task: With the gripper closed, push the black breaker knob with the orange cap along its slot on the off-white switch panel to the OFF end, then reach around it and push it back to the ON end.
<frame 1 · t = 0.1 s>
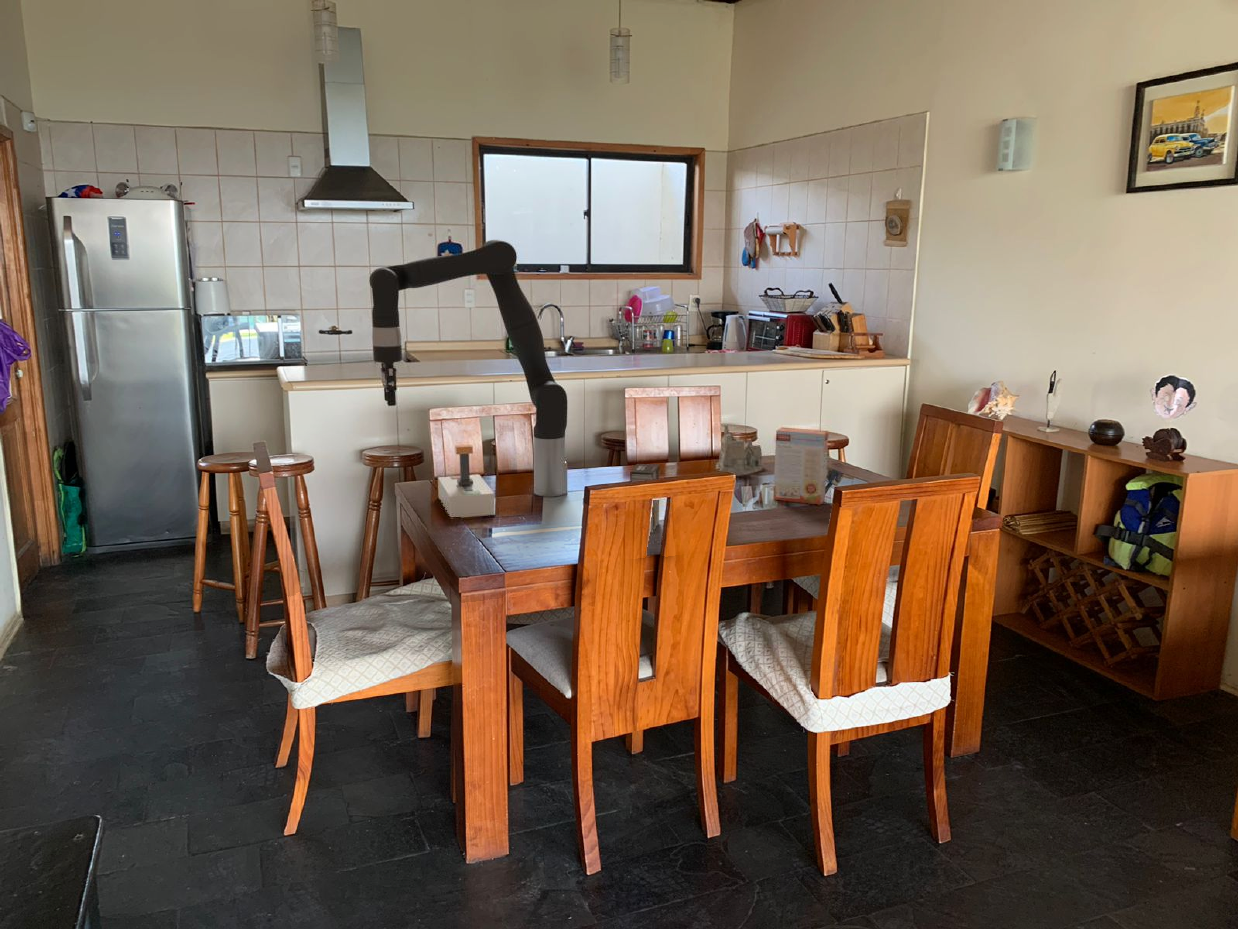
hand: (390, 403, 253), 29 cm above the table, tool pointing down, fingers open, 8 cm apart
cracker box: (798, 501, 269), on the table
ceramic cottage: (739, 470, 305), on the table
coffee box: (644, 528, 243), on the table
breaker knob: (464, 464, 258), point 12 cm above the table, slide at 5.0 cm
switch panel: (465, 505, 261), on the table
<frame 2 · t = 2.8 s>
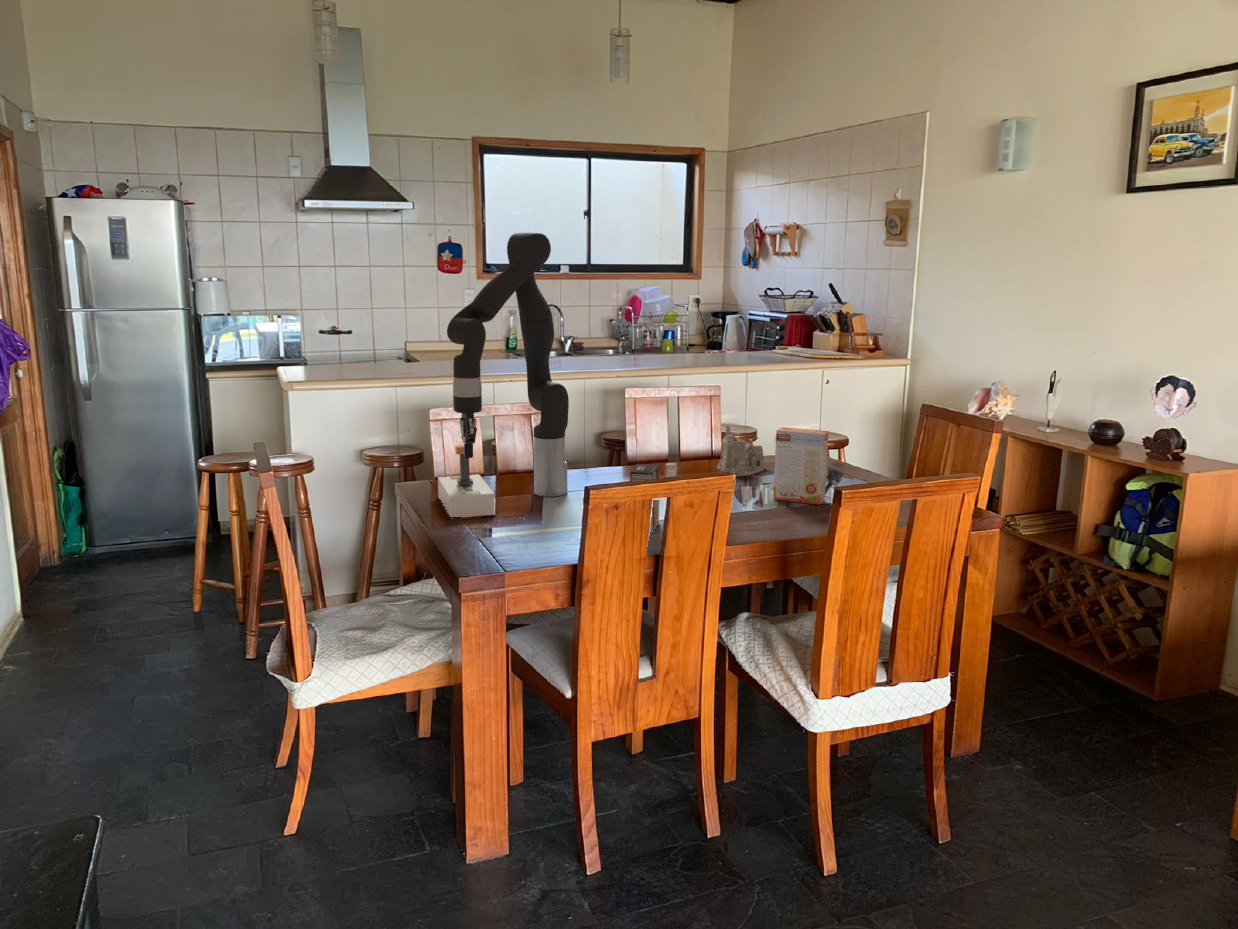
hand: (468, 457, 250), 16 cm above the table, tool pointing down, fingers closed
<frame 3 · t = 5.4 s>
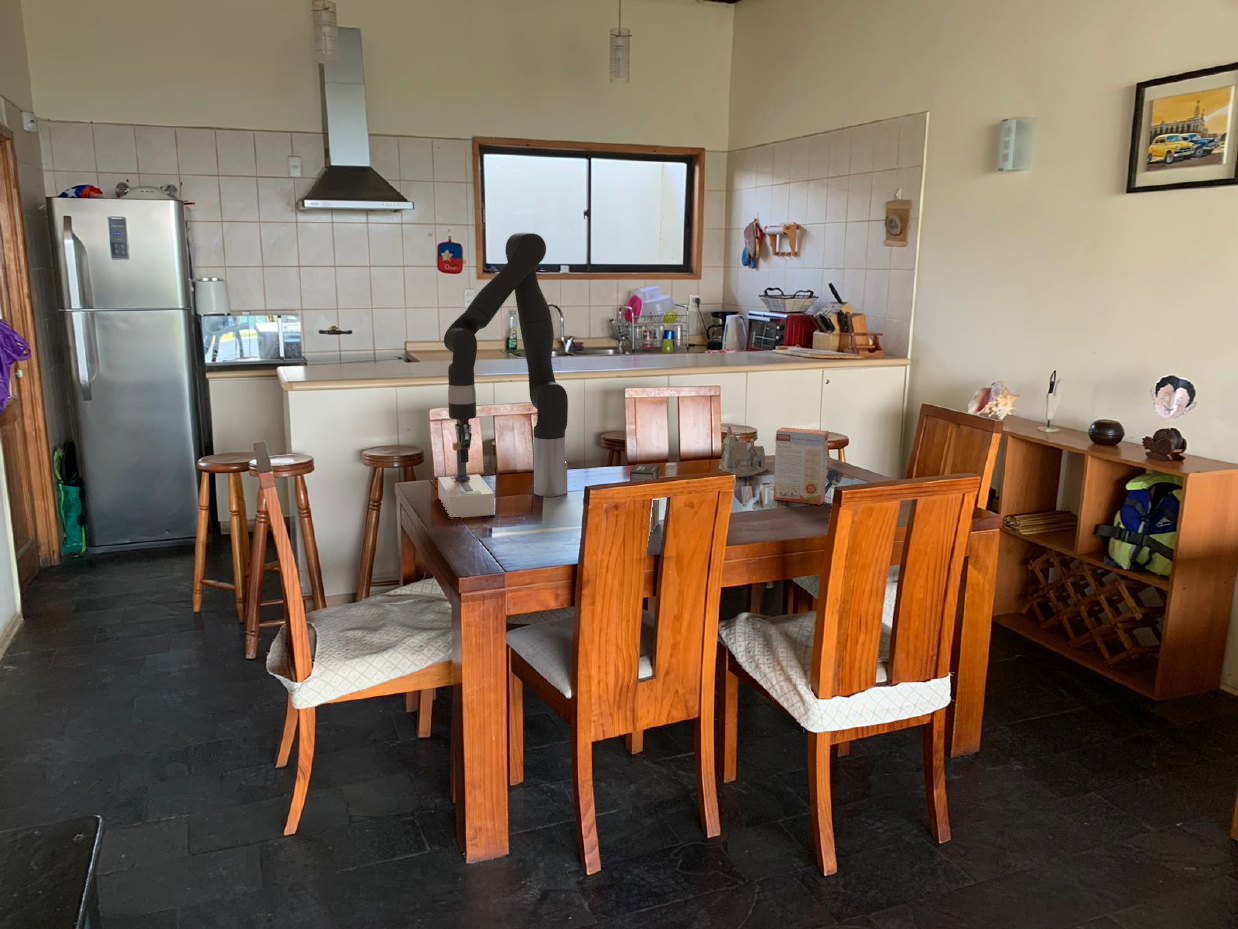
hand: (464, 461, 259), 12 cm above the table, tool pointing down, fingers closed
breaker knob: (461, 460, 263), point 12 cm above the table, slide at -0.1 cm, touching hand
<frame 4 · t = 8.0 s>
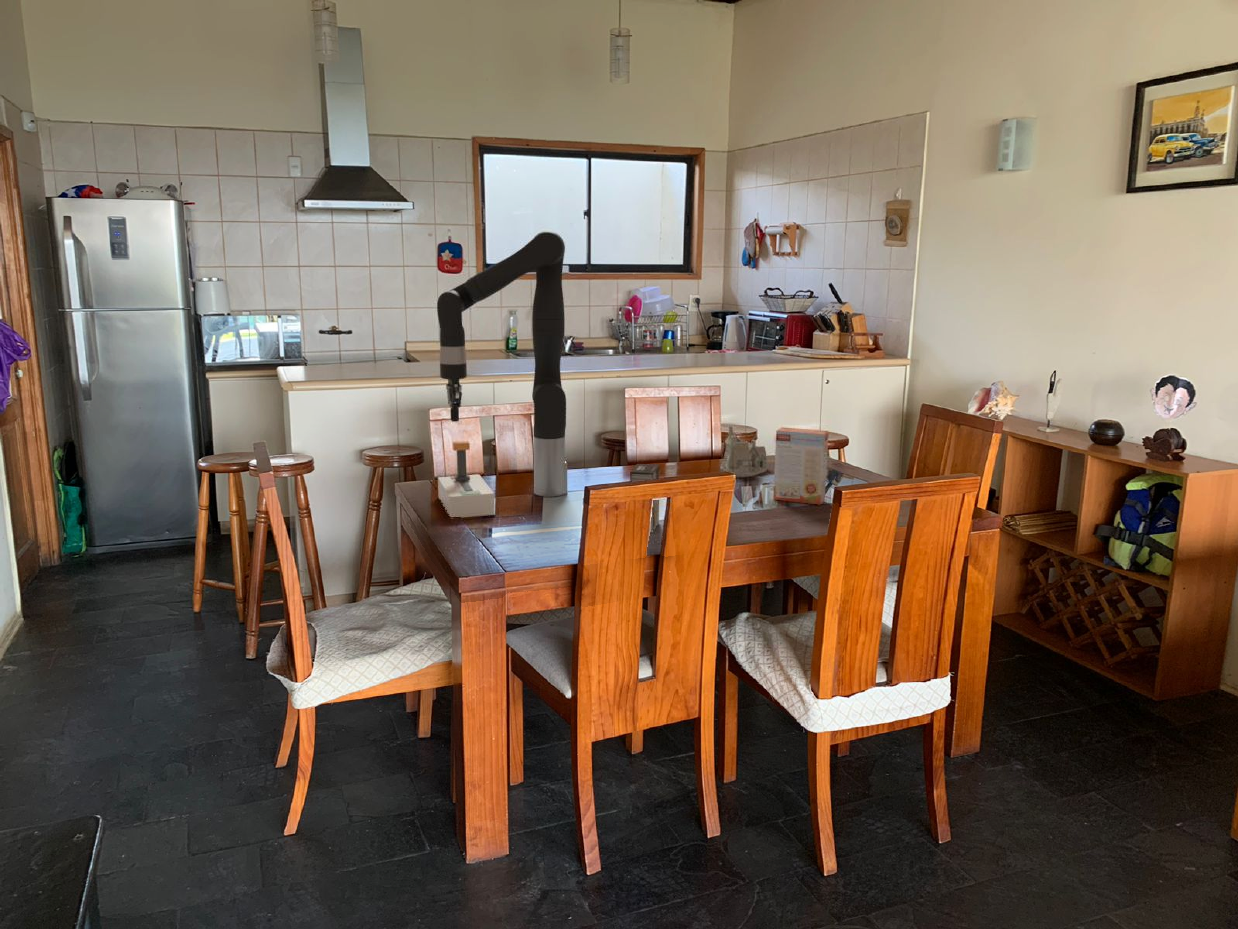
hand: (454, 420, 270), 22 cm above the table, tool pointing down, fingers closed
breaker knob: (461, 460, 263), point 12 cm above the table, slide at 0.0 cm
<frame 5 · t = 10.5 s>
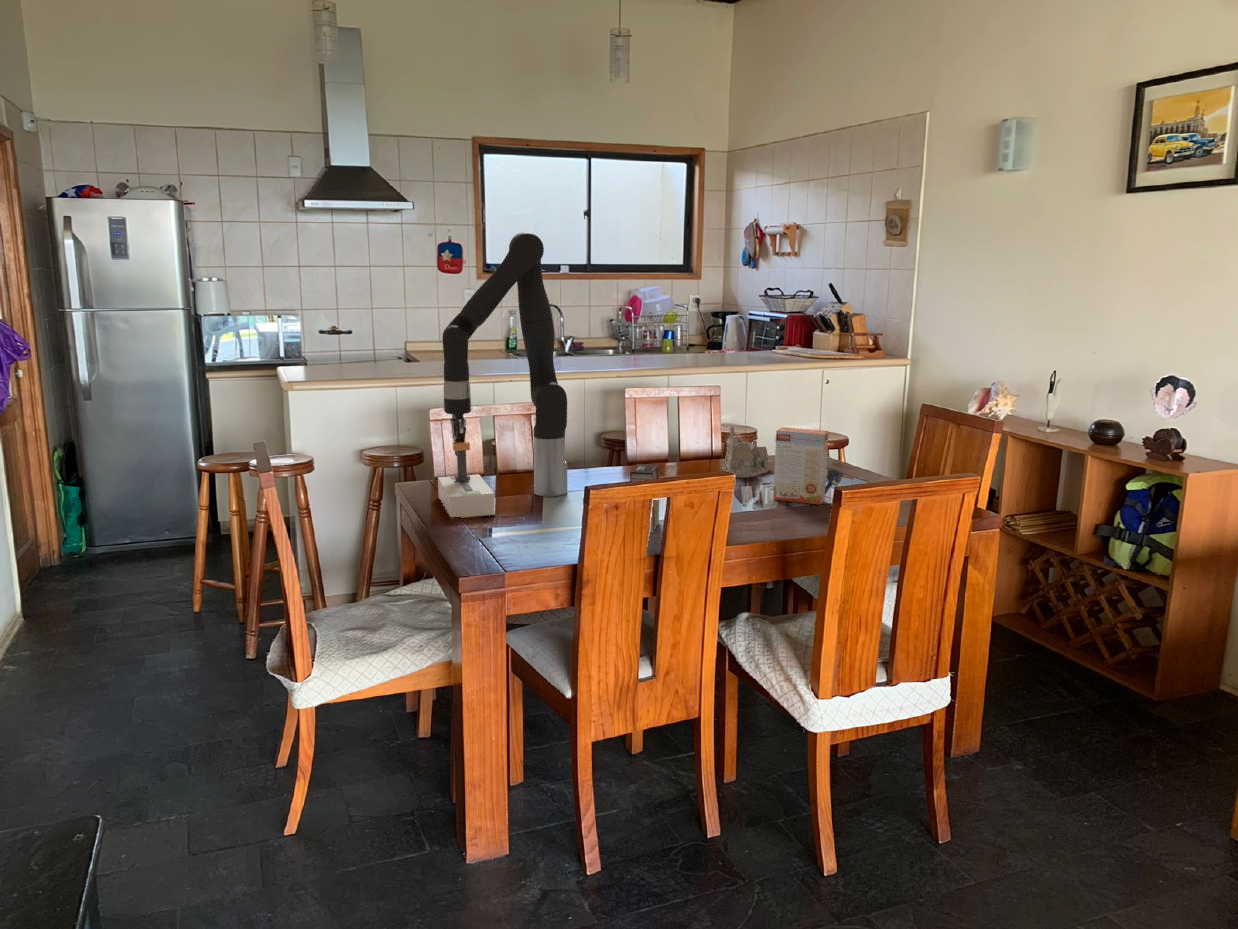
hand: (459, 455, 266), 12 cm above the table, tool pointing down, fingers closed
breaker knob: (461, 461, 262), point 12 cm above the table, slide at 0.3 cm, touching gripper, hand
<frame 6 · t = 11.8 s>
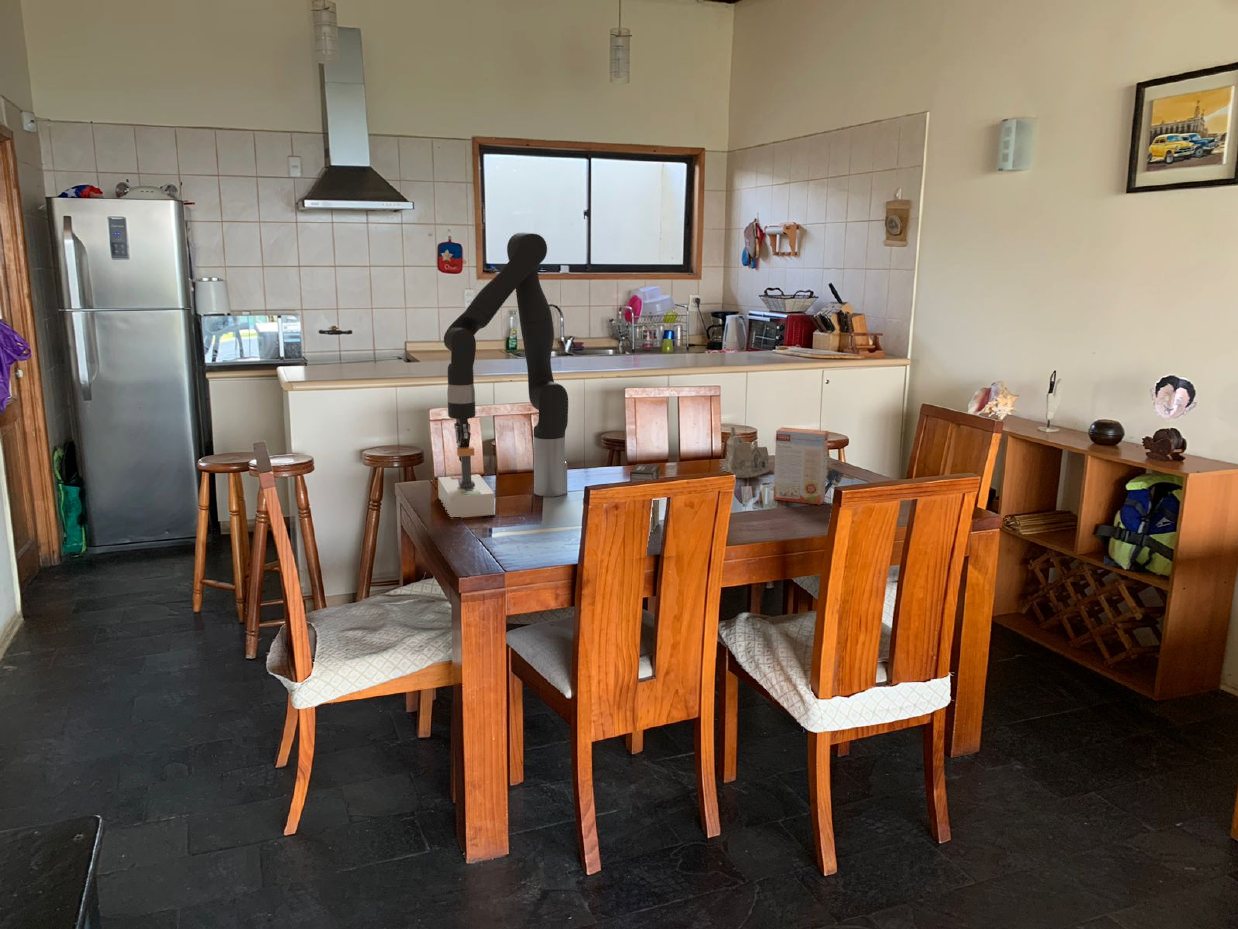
hand: (463, 461, 260), 13 cm above the table, tool pointing down, fingers closed
breaker knob: (466, 467, 256), point 12 cm above the table, slide at 7.6 cm, touching gripper, hand
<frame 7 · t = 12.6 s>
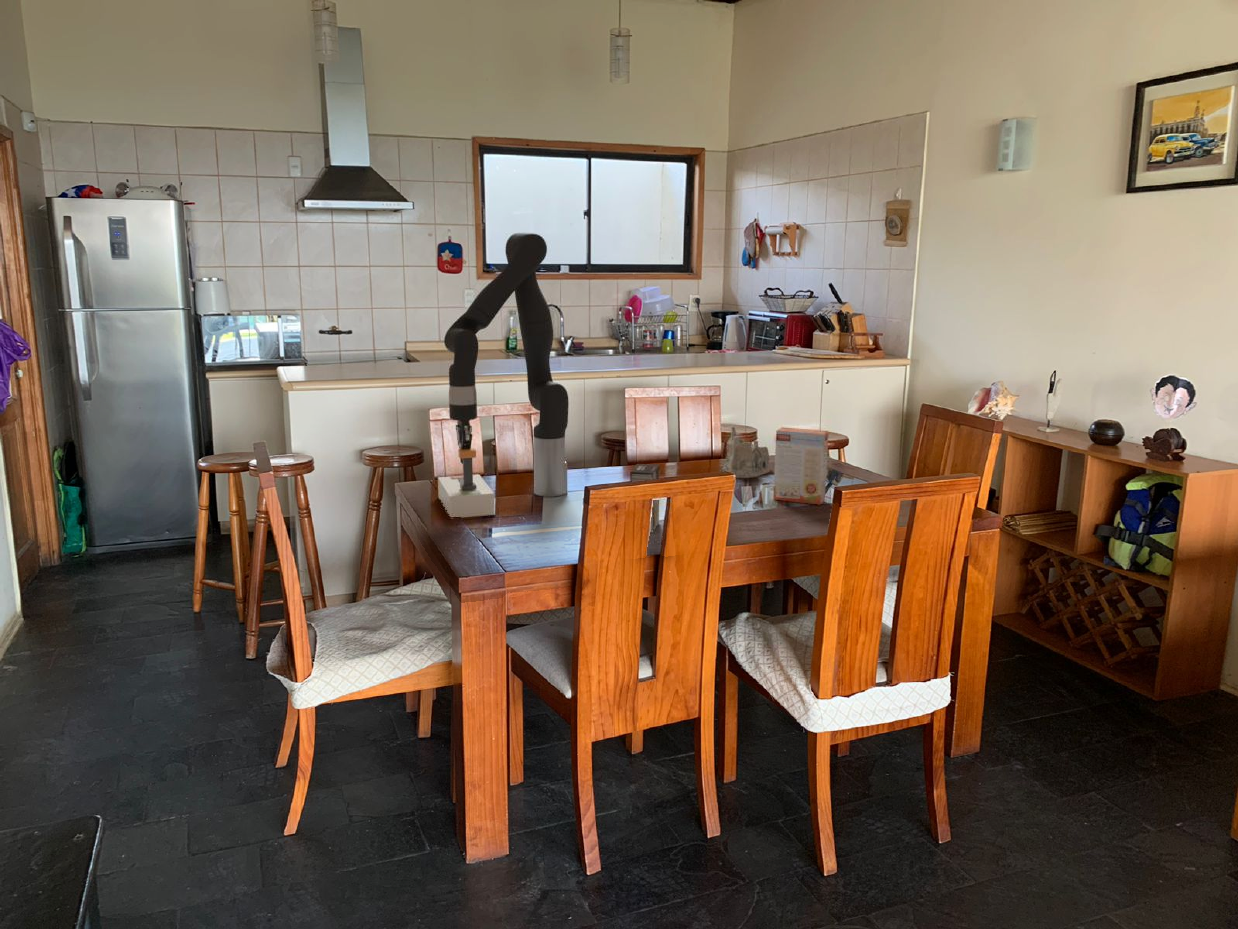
hand: (464, 463, 257), 13 cm above the table, tool pointing down, fingers closed
breaker knob: (467, 469, 253), point 12 cm above the table, slide at 10.1 cm, touching gripper, hand
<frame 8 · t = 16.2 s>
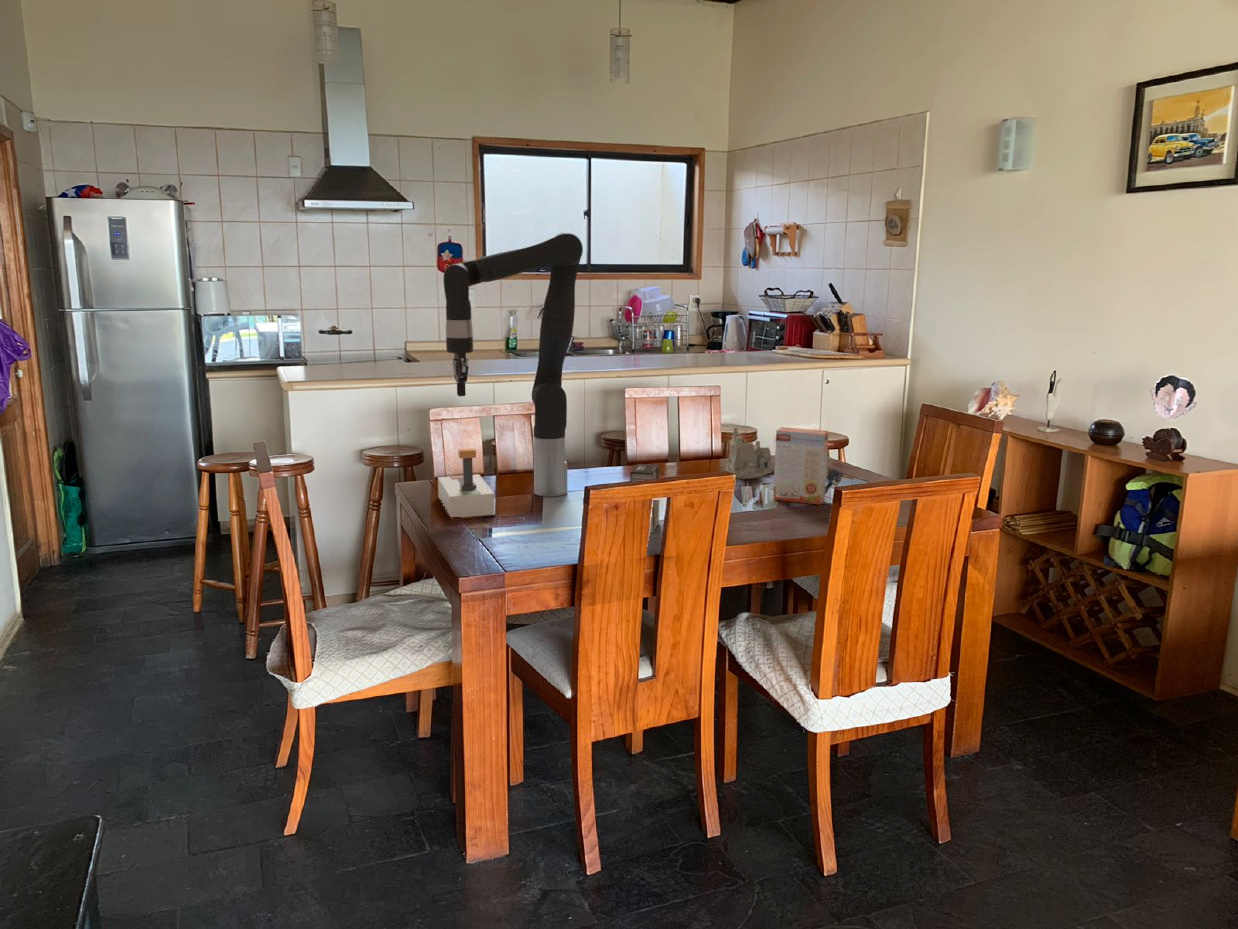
hand: (461, 395, 268), 29 cm above the table, tool pointing down, fingers closed
breaker knob: (467, 469, 253), point 12 cm above the table, slide at 10.0 cm
at the end: breaker knob slide at 10.0 cm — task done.
